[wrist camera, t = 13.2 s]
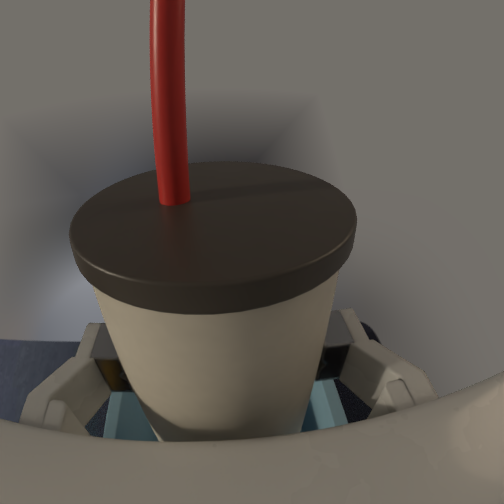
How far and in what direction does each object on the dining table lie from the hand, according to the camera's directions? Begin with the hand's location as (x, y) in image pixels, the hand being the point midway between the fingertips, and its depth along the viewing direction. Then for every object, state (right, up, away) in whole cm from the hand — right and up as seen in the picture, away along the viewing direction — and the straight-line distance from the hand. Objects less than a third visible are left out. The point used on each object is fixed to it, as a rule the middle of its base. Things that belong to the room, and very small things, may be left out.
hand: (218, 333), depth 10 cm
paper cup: (0, -5, +2) cm, 6 cm away
